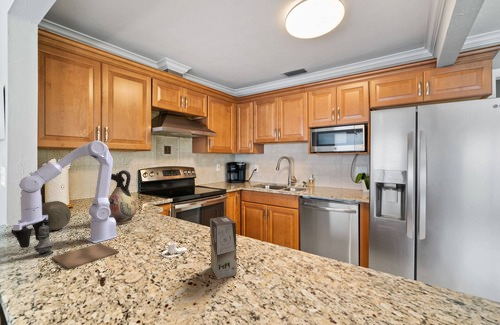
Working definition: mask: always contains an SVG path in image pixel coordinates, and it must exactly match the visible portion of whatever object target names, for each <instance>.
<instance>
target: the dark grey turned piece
mask: <svg viewBox="0 0 500 325" xmlns="http://www.w3.org/2000/svg"><path fill="white" fill-rule="evenodd" d="M49 231H50V230H49V227H48V226H47V225H44V223H43V225H42V226H41V227H39V235H38V237H39V240H38V243H37V244H36V245H35V246H33V248H34V250H35V252H36V253H37V254H35V256H34V258H43V257H48V256H51V255H53V254H54V251H52V249H54V248H53V247H54V245H55V242H53V241H52V242H51V240H50V235H51V233H50V232H49Z"/></svg>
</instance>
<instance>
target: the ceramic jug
mask: <svg viewBox="0 0 500 325" xmlns="http://www.w3.org/2000/svg"><path fill="white" fill-rule="evenodd" d="M123 175H124V176H125V177H126V180H125V178H124V177H123ZM111 181H114V182H115V183H116V186H115V188H114V190H113V191H112V192H111V194H110V196H109V197H108V200H109V203H110V204H109V208H110V210H111V214H110V216H109V218H111V217H113V218H114V219H115V221H116V225H122V224H123V225H124V224H127V223H130V222H132V221H133V217H134V216H135V214H136V213H137V202H136V200H135V198H134V196H133V195H132V193H131V192H130V189H129V188H130V183H131V173H130V172H129V171H128V170H125V169H124V170H119V171H118V172H115V173H112V174H111ZM124 182H125V185H124Z"/></svg>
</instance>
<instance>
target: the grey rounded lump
mask: <svg viewBox="0 0 500 325" xmlns="http://www.w3.org/2000/svg"><path fill="white" fill-rule="evenodd" d="M42 215H48V220H50V224H49V225H48V227H49V231H58V230H60V229H62V228H64V227H66V226H67V225H68V224H69V223H70V221H71V218H72V217H71V216H72V212H71V209H70V208H69V206H68V205H67V204H66V203H65V202H63V201H60V200H59V201H58V200H53V201H47V202H42ZM46 221H47V220H46Z"/></svg>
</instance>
